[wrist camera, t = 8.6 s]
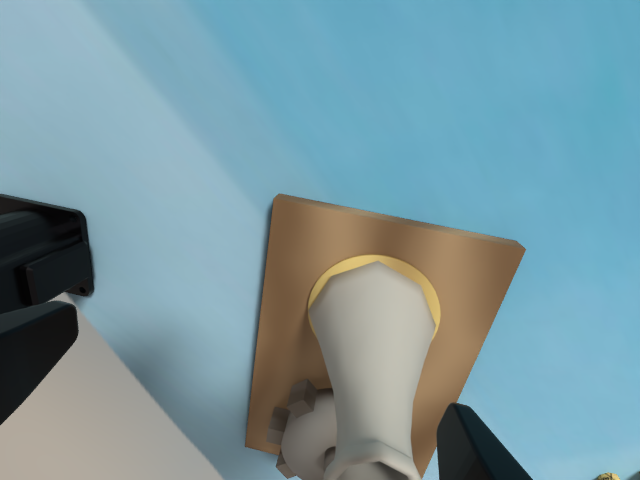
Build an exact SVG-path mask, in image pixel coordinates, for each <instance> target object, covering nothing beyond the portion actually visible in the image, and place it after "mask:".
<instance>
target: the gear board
mask: <svg viewBox="0 0 640 480" xmlns="http://www.w3.org/2000/svg"><path fill="white" fill-rule="evenodd" d="M525 251H526V249H525V248H524V247H523V246H522V245H521V244H519V243H518V242H517V241H514V240H509V239H504V238H499V237H494V236H489V235H484V234H479V233H474V232H469V231H464V230H459V229H454V228H449V227H444V226H439V225H434V224H429V223H424V222H419V221H414V220H409V219H404V218H399V217H394V216H389V215H384V214H379V213H374V212H369V211H364V210H359V209H354V208H349V207H344V206H339V205H334V204H329V203H324V202H319V201H314V200H309V199H304V198H299V197H294V196H289V195H284V194H278V195H277V196H276V197H275V198H274V200H273V209H272V218H271V226H270V235H269V243H268V252H267V261H266V269H265V278H264V287H263V295H262V304H261V312H260V321H259V330H258V338H257V347H256V356H255V364H254V373H253V381H252V390H251V399H250V407H249V416H248V425H247V433H246V442H245V447H248V448H252V449H256V450H260V451H264V452H268V453H272V454H276V455H279V456H278V460H277V464H276V468H277V469H278V470H279V471H280V472H281V473H282V474H283V475H284V476H285V477H286V478H287V479H288V478H291V477H294V476H296V475H297V476H298V477H299V478H301V479H302V480H324V473H325V470H326V468H327V467H328V465H329V464H330V463H331V462H332V461H333V460H334V458H335V451H336V437H337V422H336V412H335V403H334V394H333V388H332V385H331V381H330V378H329V375H328V371H327V368H326V364H325V361H324V358H323V354H322V351H321V347H320V345H319V342H318V339H317V336H316V333H315V330H314V327H313V325H312V322H311V318H310V315H309V312H308V310H309V309H310V307H311V306H312V304H313V303H314V301H315V300H316V298H317V297H318V295H319V294H320V292H321V291H322V289H323V288H324V286H325V285H326V283H327V282H328V280H329V279H330V277H331V276H333V275H336V274H339V273H342V272H345V271H348V270H351V269H354V268H357V267H360V266H363V265H366V264H369V263H372V262H375V261H380V262H381V263H383V264H385V265H387V266H388V267H390V268H392V269H394V270H395V271H397V272H399V273H400V274H402V275H404V276H406V277H407V278H409V279H411V280H412V281H414V282H416V283H418V284H419V285H421V287H422V289H423V292H424V295H425V297H426V300H427V303H428V305H429V308H430V311H431V313H432V316H433V319H434V322H435V324H436V327H435V331H434V335H433V338H432V340H431V343H430V346H429V349H428V352H427V355H426V358H425V361H424V364H423V368H422V371H421V375H420V378H419V382H418V386H417V389H416V393H415V396H414V400H413V409H412V424H411V448H412V456H413V462H414V464H415V466H416V469H417V471H418V473H419V475H420V477H421V479H422V477H423V475H424V473H425V471H426V469H427V466H428V464H429V462H430V460H431V458H432V455H433V453H434V451H435V449H436V447H437V440H436V432H437V427H438V424H439V422H440V420H441V418H442V416H443V414H444V412H445V410H446V408H447V406H448V405H449V404H450V403H452V402H455V403H456V402H457V400H458V398H459V396H460V394H461V391H462V389H463V387H464V385H465V383H466V380H467V378H468V376H469V374H470V372H471V369H472V367H473V365H474V363H475V361H476V358H477V356H478V354H479V352H480V350H481V347H482V345H483V343H484V341H485V339H486V336H487V334H488V332H489V330H490V328H491V325H492V323H493V321H494V319H495V317H496V314H497V312H498V310H499V308H500V306H501V303H502V301H503V299H504V297H505V295H506V292H507V290H508V288H509V286H510V284H511V281H512V279H513V277H514V275H515V273H516V270H517V268H518V266H519V264H520V262H521V259H522V257H523V255H524V253H525Z"/></svg>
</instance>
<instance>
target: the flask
mask: <svg viewBox="0 0 640 480" xmlns="http://www.w3.org/2000/svg"><path fill="white" fill-rule="evenodd" d="M308 312H309V315H310V318H311V322H312V325H313V327H314V330H315V333H316V336H317V339H318V342H319V345H320V347H321V351H322V354H323V358H324V361H325V364H326V368H327V371H328V375H329V378H330V381H331V385H332V388H333V394H334V403H335V412H336V422H337V437H336V451H335V458H334V460H333V461H332V462H331V463H330V464H329V465H328V467H327V468H326V470H325V473H324V480H422V479H421V477H420V475H419V473H418V471H417V469H416V466H415V464H414V462H413V456H412V448H411V424H412V409H413V400H414V396H415V393H416V389H417V386H418V382H419V378H420V375H421V371H422V368H423V364H424V361H425V358H426V355H427V352H428V349H429V346H430V343H431V340H432V338H433V335H434V331H435V327H436V324H435V322H434V319H433V316H432V313H431V311H430V308H429V305H428V303H427V300H426V297H425V295H424V292H423V289H422V287H421V285H419V284H418V283H416V282H414V281H412V280H411V279H409V278H407V277H406V276H404V275H402V274H400V273H399V272H397V271H395V270H394V269H392V268H390V267H388V266H387V265H385V264H383V263H381V262H380V261H375V262H372V263H369V264H366V265H363V266H360V267H357V268H354V269H351V270H348V271H345V272H342V273H339V274H336V275H333V276H331V277H330V279H329V280H328V282H327V283H326V285H325V286H324V288H323V289H322V291H321V292H320V294H319V295H318V297H317V298H316V300H315V301H314V303H313V304H312V306H311V307H310V309H309V310H308Z"/></svg>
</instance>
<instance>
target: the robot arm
mask: <svg viewBox="0 0 640 480" xmlns="http://www.w3.org/2000/svg"><path fill="white" fill-rule="evenodd" d="M75 217H76V219H77V220H76V219H75ZM63 292H68V293H72V294H76V295H81V296H88V295H89V294H91V293H92V292H93V281H92V273H91V264H90V256H89V247H88V239H87V231H86V222H85V217H84V215H83V213H82V212H81V211H79V210H75V209H70V208H66V207H61V206H56V205H52V204H47V203H42V202H37V201H33V200H28V199H23V198H19V197H14V196H9V195H4V194H0V425H1V424H2V423H3V422H4V421H5V420H6V419H7V418H8V417H9V416H10V415H11V414H12V413H13V412H14V411H15V410H16V409H17V408H18V407H19V406H20V405H21V404H22V403H23V402H24V400H26V398H27V397H28V396H29V395H30V394H31V393H32V392H33V390H34V389H35V388H36V387H37V386H38V384H39V383H40V382H41V381H42V380H43V379H44V378H45V376H46V375H47V374H48V373H49V372H50V371H51V369H52V368H53V367H54V366H55V365H56V363H57V362H58V361H59V360H60V359H61V358H62V356H63V355H64V354H65V353H66V352H67V350H68V349H69V348H70V347H71V346H72V345H73V343H74V342H75V340H76V338H77V336H78V331H79V330H78V321H77V310H76V307H75V306H74V305H73V304H70V303H66V302H62V301H51V302H48V301H49V300H51V299H53V298H55V297H56V296H58V295H60V294H61V293H63ZM46 302H47V303H46ZM436 440H437V454H438V467H439V480H533V479H532V478H531V477H530V476H529V475H528V473H527V472H526V471H525V470H524V469H523V468H522V466H521V465H520V464H519V463H518V462H517V461H516V459H515V458H514V457H513V456H512V455H511V454H510V452H509V451H508V450H507V449H506V448H505V447H504V445H503V444H502V443H501V442H500V441H499V440H498V438H497V437H496V436H495V435H494V434H493V433H492V432H491V430H490V429H489V428H488V427H487V426H486V425H485V423H484V422H483V421H482V420H481V419H480V418H479V416H478V415H477V414H476V413H475V412H474V411H473V410H472V409H471V408H470V407H469V406H467V405H463V404H459V403H455V402H452V403H450V404H449V405H448V406H447V408H446V410H445V412H444V414H443V416H442V418H441V420H440V422H439V424H438V427H437V432H436Z"/></svg>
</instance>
